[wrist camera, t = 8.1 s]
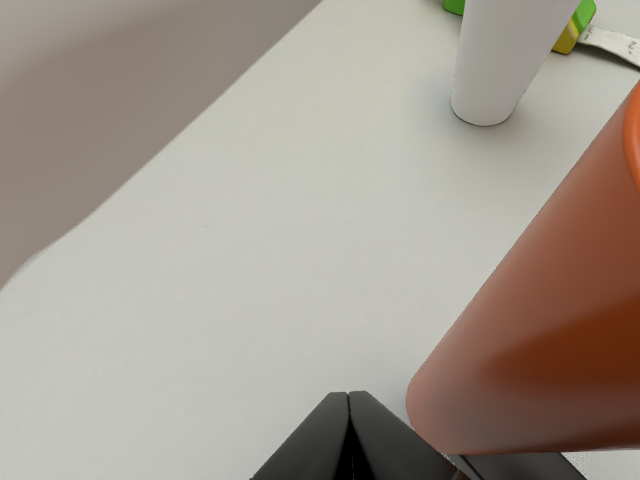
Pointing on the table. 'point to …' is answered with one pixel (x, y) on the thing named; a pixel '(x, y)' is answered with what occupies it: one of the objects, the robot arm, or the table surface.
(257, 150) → the table surface
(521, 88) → the cup
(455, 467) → the robot arm
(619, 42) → the toy measuring tape
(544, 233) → the crank handle
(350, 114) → the table surface
